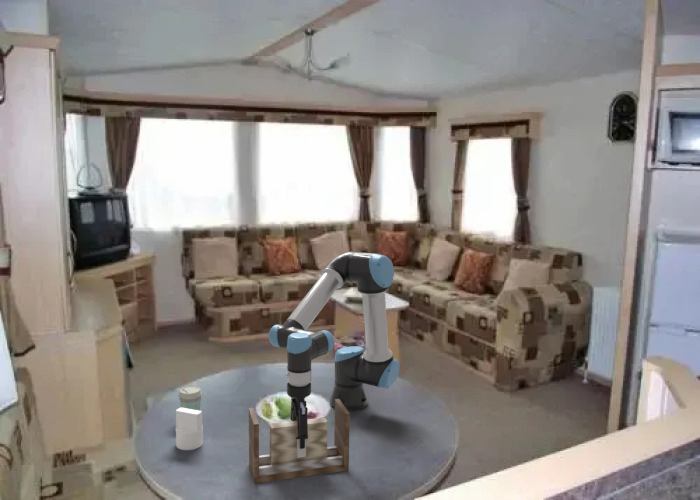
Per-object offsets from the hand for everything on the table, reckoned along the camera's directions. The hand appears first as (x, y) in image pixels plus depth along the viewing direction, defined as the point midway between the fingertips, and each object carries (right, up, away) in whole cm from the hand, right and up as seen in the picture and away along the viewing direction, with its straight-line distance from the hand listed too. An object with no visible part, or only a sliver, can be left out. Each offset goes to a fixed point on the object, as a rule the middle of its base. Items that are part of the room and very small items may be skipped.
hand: (298, 450), depth 186 cm
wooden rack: (0, -6, +1) cm, 6 cm away
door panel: (0, -5, +1) cm, 5 cm away
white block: (-39, -3, +15) cm, 42 cm away
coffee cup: (-44, 0, +33) cm, 55 cm away
